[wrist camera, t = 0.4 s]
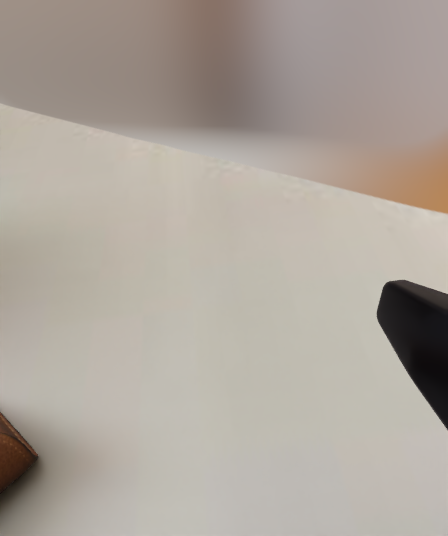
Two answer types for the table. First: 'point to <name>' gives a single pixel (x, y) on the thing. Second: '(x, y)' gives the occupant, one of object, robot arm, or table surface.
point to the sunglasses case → (13, 454)
